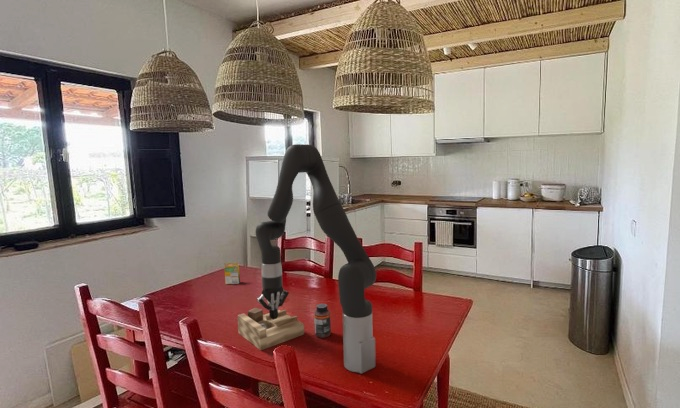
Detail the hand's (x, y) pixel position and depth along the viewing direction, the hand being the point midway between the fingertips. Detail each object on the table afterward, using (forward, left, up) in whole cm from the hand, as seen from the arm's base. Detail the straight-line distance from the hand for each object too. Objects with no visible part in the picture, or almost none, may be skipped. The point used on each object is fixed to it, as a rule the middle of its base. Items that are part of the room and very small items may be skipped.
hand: (273, 318), depth 138 cm
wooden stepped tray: (0, +1, -6) cm, 6 cm away
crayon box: (+68, -13, -6) cm, 69 cm away
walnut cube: (+6, +4, -2) cm, 8 cm away
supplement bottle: (-14, -13, -6) cm, 20 cm away
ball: (0, +5, -3) cm, 6 cm away
